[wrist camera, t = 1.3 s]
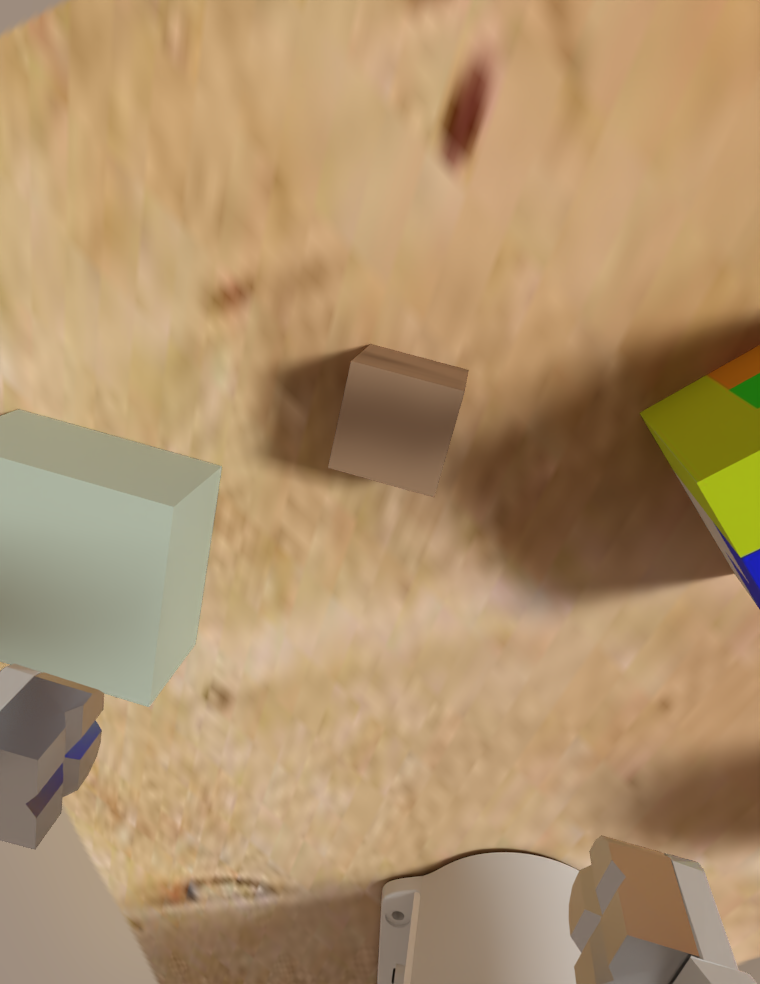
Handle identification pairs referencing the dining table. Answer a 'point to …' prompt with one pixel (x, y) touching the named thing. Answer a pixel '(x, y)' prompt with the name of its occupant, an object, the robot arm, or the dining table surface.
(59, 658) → the block
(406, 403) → the walnut cube
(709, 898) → the robot arm
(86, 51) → the dining table surface
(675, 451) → the puzzle toy
